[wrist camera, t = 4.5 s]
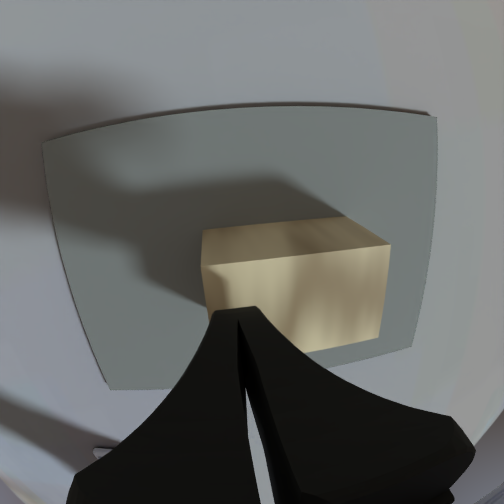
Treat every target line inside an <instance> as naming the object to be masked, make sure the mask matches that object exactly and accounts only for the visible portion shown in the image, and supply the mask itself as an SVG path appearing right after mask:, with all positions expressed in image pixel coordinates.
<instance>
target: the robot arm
mask: <svg viewBox="0 0 504 504" xmlns="http://www.w3.org/2000/svg"><path fill="white" fill-rule="evenodd" d="M245 387H246V389H245ZM246 391H247V394H248V398H249V401H250V405H251V408H252V411H253V415H254V418H255V422H256V425H257V428H258V432H259V435H260V438H261V441H262V445H263V449H264V453H265V457H266V462H267V467H268V472H269V477H270V482H271V487H272V492H273V497H274V502H275V504H452V503H453V502H454V496H453V494H452V493H451V491H450V489H449V488H450V487H451V486H452V485H453V484H454V483H455V482H456V481H457V480H458V478H459V477H460V476H461V475H462V474H463V473H464V472H465V470H466V469H467V468H468V467H469V465H470V464H471V462H472V461H473V458H474V456H475V452H476V450H475V448H474V446H473V444H472V443H471V442H470V440H469V439H468V437H467V436H466V434H465V433H464V432H463V430H462V429H461V428H460V426H459V425H458V424H457V423H456V422H455V421H454V419H453V418H452V417H451V416H446V415H442V414H437V413H433V412H428V411H424V410H420V409H416V408H412V407H408V406H405V405H402V404H399V403H396V402H393V401H391V400H388V399H385V398H382V397H380V396H377V395H375V394H372V393H370V392H368V391H366V390H364V389H362V388H359V387H357V386H355V385H353V384H351V383H349V382H347V381H345V380H343V379H342V378H340V377H338V376H336V375H335V374H333V373H331V372H330V371H328V370H327V369H325V368H323V367H322V366H321V365H319V364H318V363H316V362H315V361H314V360H312V359H311V358H310V357H308V356H307V355H306V354H305V353H303V352H302V351H301V350H299V349H298V348H297V347H296V346H295V345H294V344H293V343H291V342H290V341H289V340H288V339H287V338H286V337H285V336H284V335H283V334H282V333H281V332H280V331H279V330H278V329H277V328H276V327H275V326H274V325H273V324H272V323H271V322H270V321H269V320H268V319H267V317H266V316H265V315H264V314H263V313H262V311H261V310H260V309H259V308H258V307H257V306H248V307H240V308H232V309H223V310H215V311H214V312H213V313H212V316H211V320H210V323H209V325H208V328H207V330H206V333H205V335H204V337H203V339H202V341H201V343H200V345H199V347H198V349H197V351H196V353H195V355H194V357H193V358H192V360H191V362H190V363H189V365H188V367H187V368H186V370H185V372H184V373H183V375H182V376H181V378H180V379H179V381H178V382H177V383H176V385H175V386H174V388H173V389H172V390H171V391H170V393H169V394H168V395H167V397H166V398H165V399H164V400H163V401H162V403H161V404H160V405H159V406H158V407H157V408H156V409H155V411H154V412H153V413H152V414H151V415H150V416H149V417H148V418H147V419H146V420H145V421H144V422H143V423H142V424H141V425H140V426H139V427H138V428H137V429H136V430H134V431H133V432H132V433H131V434H130V435H129V436H128V437H127V438H126V439H124V440H123V441H122V442H121V443H120V444H119V445H117V446H116V447H115V448H114V449H103V448H94V450H93V454H94V455H95V457H96V458H97V459H98V460H97V461H95V462H94V463H92V464H91V465H89V466H88V467H86V468H85V469H83V470H82V471H80V472H78V473H77V474H75V476H74V479H73V482H72V484H71V487H70V490H69V493H68V497H67V501H66V504H261V503H260V498H259V493H258V488H257V483H256V477H255V472H254V467H253V461H252V456H251V451H250V445H249V439H248V426H247V408H246ZM475 504H504V483H502V484H501V485H500V486H498V487H497V488H496V489H494V490H493V491H492V492H491V493H489V494H488V495H486V496H485V497H483V498H482V499H480V500H479V501H478V502H476V503H475Z"/></svg>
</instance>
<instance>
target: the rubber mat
mask: <svg viewBox="0 0 504 504" xmlns="http://www.w3.org/2000/svg"><path fill="white" fill-rule="evenodd" d="M42 153H43V162H44V170H45V177H46V184H47V190H48V196H49V202H50V207H51V212H52V217H53V222H54V227H55V231H56V236H57V240H58V244H59V248H60V252H61V256H62V260H63V264H64V267H65V271H66V275H67V278H68V281H69V285H70V288H71V291H72V294H73V298H74V301H75V304H76V307H77V310H78V313H79V315H80V318H81V321H82V324H83V327H84V329H85V332H86V335H87V337H88V340H89V342H90V345H91V347H92V350H93V352H94V355H95V357H96V360H97V362H98V364H99V367H100V369H101V371H102V373H103V376H104V378H105V380H106V382H107V384H108V386H109V389H110V390H152V389H173V388H174V386H175V385H176V383H177V382H178V381H179V379H180V378H181V376H182V375H183V373H184V372H185V370H186V368H187V367H188V365H189V363H190V362H191V360H192V358H193V357H194V355H195V353H196V351H197V349H198V347H199V345H200V343H201V341H202V339H203V337H204V335H205V333H206V330H207V328H208V325H209V319H208V313H207V306H206V300H205V293H204V287H203V280H202V273H201V250H202V233H203V230H207V229H216V228H225V227H235V226H244V225H254V224H264V223H275V222H285V221H296V220H308V219H319V218H331V217H343V216H347V217H348V218H350V219H351V220H353V221H355V222H356V223H358V224H360V225H361V226H363V227H364V228H366V229H368V230H369V231H371V232H372V233H374V234H375V235H377V236H379V237H380V238H382V239H383V240H385V241H386V242H388V243H389V244H391V249H390V259H389V269H388V277H387V285H386V293H385V300H384V306H383V313H382V319H381V325H380V331H379V336H378V338H374V339H370V340H365V341H361V342H357V343H352V344H348V345H343V346H338V347H333V348H328V349H323V350H318V351H312V352H307V353H305V354H306V355H307V356H308V357H310V358H311V359H312V360H314V361H315V362H316V363H318V364H319V365H321V366H322V367H323V368H330V367H334V366H339V365H343V364H348V363H352V362H356V361H360V360H365V359H369V358H372V357H376V356H380V355H384V354H387V353H391V352H395V351H398V350H402V349H405V348H408V347H411V346H412V342H413V339H414V335H415V331H416V326H417V322H418V318H419V313H420V309H421V304H422V299H423V294H424V289H425V283H426V278H427V272H428V265H429V259H430V252H431V244H432V236H433V227H434V217H435V204H436V189H437V161H438V136H437V117H433V116H426V115H420V114H412V113H404V112H396V111H386V110H375V109H363V108H347V107H323V106H273V107H248V108H232V109H219V110H208V111H198V112H189V113H181V114H173V115H166V116H159V117H153V118H146V119H141V120H135V121H129V122H124V123H119V124H114V125H109V126H104V127H100V128H95V129H91V130H87V131H83V132H79V133H75V134H71V135H67V136H63V137H60V138H56V139H52V140H49V141H46V142H42Z"/></svg>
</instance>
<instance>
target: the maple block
mask: <svg viewBox="0 0 504 504" xmlns="http://www.w3.org/2000/svg"><path fill="white" fill-rule="evenodd" d="M390 249H391V244H389V243H388V242H386V241H385V240H383V239H382V238H380V237H379V236H377V235H375V234H374V233H372V232H371V231H369V230H368V229H366V228H364V227H363V226H361V225H360V224H358V223H356V222H355V221H353V220H351V219H350V218H348V217H347V216H343V217H331V218H319V219H308V220H296V221H285V222H275V223H264V224H254V225H244V226H235V227H225V228H216V229H207V230H203V233H202V250H201V273H202V280H203V287H204V293H205V300H206V306H207V313H208V319H209V323H210V320H211V316H212V313H213V312H214V311H215V310H223V309H232V308H240V307H248V306H257V307H258V308H259V309H260V310H261V311H262V313H263V314H264V315H265V316H266V317H267V319H268V320H269V321H270V322H271V323H272V324H273V325H274V326H275V327H276V328H277V329H278V330H279V331H280V332H281V333H282V334H283V335H284V336H285V337H286V338H287V339H288V340H289V341H290V342H291V343H293V344H294V345H295V346H296V347H297V348H298V349H299V350H301V351H302V352H303V353H307V352H312V351H318V350H323V349H328V348H333V347H338V346H343V345H348V344H352V343H357V342H361V341H365V340H370V339H374V338H378V336H379V331H380V325H381V319H382V313H383V306H384V300H385V293H386V285H387V277H388V269H389V259H390Z"/></svg>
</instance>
